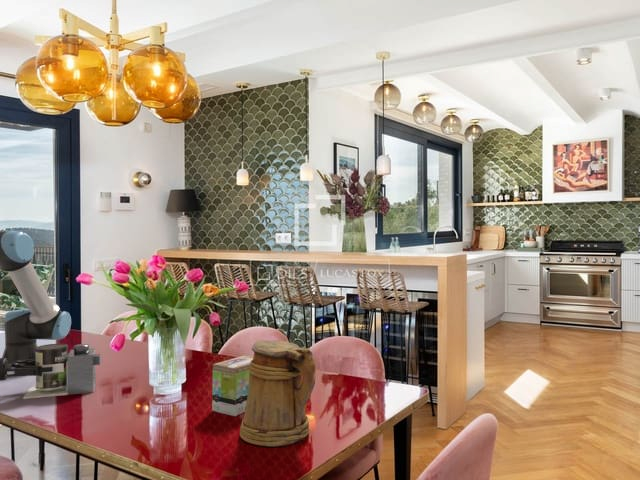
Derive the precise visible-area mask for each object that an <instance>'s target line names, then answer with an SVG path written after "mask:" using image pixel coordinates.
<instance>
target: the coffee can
mask: <svg viewBox="0 0 640 480" xmlns="http://www.w3.org/2000/svg"><path fill="white" fill-rule="evenodd" d="M37 346H38V347H36V348H35V351H36V366H42V365H51V364H63V363H64V372H56V373H44V374H42V376H39V375H38V376H35V387H36V389H37V390H41V391H48V390H57V389H61V388H64V387H66V386H67V366H66V362H67V356H68V355H69V351H68V350H69V349H68V347H69V345H68V344H67V343H50V344H48V343H47V344H42V345H37Z"/></svg>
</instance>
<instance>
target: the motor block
mask: <svg viewBox="0 0 640 480" xmlns="http://www.w3.org/2000/svg"><path fill="white" fill-rule="evenodd" d="M99 365H101V353H96V347H90V344H88V343H81V344H75V345H73V349H70V351H69V352H68V356H67V362H66V366H67V391H68V395H79V394H80V395H81V394H89V393H94V390H95V388H96V366H99ZM68 395H67V396H68Z"/></svg>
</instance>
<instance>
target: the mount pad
mask: <svg viewBox="0 0 640 480" xmlns="http://www.w3.org/2000/svg"><path fill="white" fill-rule="evenodd" d="M57 396H68V391H67V386H66V387H64V388H61V389H57V390H48V391H41V390H37V389H36V386H33V387H29V388H28V389H27V392H25V394H24V396H23V400H28V399H36V398H47V397H57Z"/></svg>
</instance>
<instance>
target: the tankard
mask: <svg viewBox="0 0 640 480" xmlns="http://www.w3.org/2000/svg"><path fill="white" fill-rule="evenodd" d="M251 351H253V356H252V357H253V360H251V362H250V368H249V372H250V373H251V374H250V382H249V389H248V396H247V403H246V409H245V412H244V417H243V419H242V421H241V424H240V427H239V428H240V430H239V437H240V438H241V440H243V441H245V442H247V443H249V444H253V445H256V446H261V447H270V448H271V447H275V448H276V447H283V446H284V447H285V446H290V445H294V444H296V443H298V442H300V441H303V440H304V439H305V438H306V437H307V436H308V434H309V432H310V420H309V417H308V416H307V415H306V407H305V405H306V404H307V402H308V400H309V399H310V397H311V396H312V392H313V390H314V388H315V384H316V379H317V377H316V376H317V375H316V365H315V360H314V358H313V351H312V350H311V349H310V348H303V347H300V346H299V345H298V344H296V343H294V342H289V341H285V340H276V339H275V340H273V339H272V340H270V339H266V340H261V339H258V340H256V342H254V343H253V345H252V347H251Z"/></svg>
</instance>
